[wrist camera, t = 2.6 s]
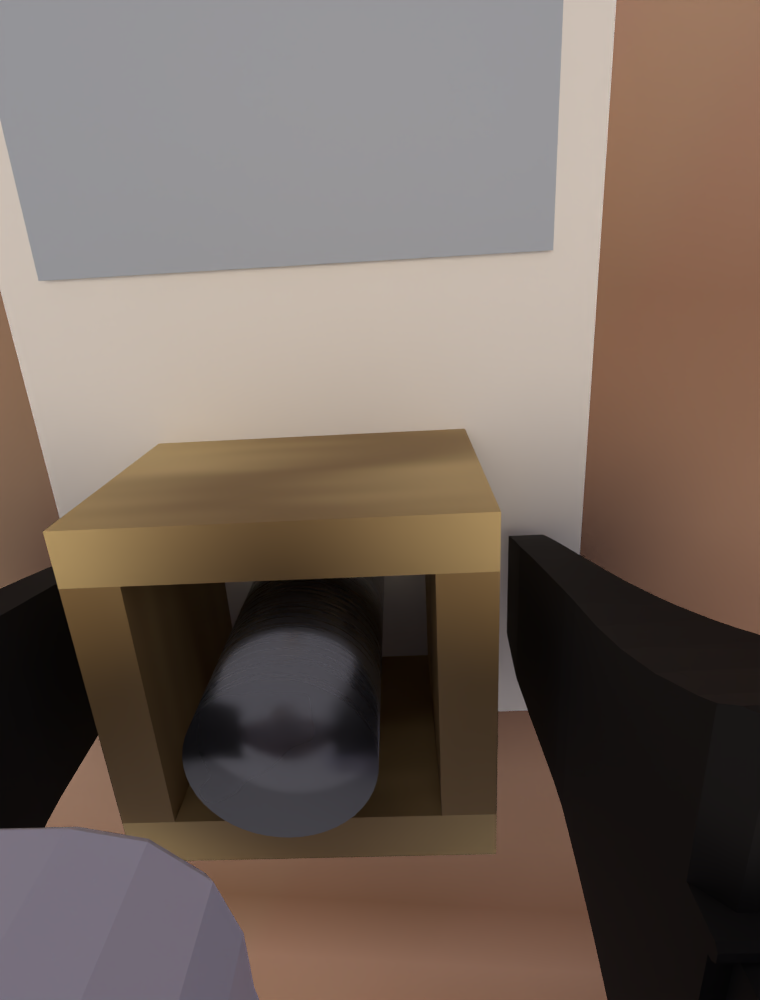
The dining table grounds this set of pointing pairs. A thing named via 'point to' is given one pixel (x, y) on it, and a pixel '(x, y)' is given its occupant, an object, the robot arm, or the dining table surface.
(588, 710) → the robot arm
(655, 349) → the dining table surface
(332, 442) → the collar
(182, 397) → the board
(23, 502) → the dining table surface
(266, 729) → the post
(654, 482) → the dining table surface
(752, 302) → the dining table surface
